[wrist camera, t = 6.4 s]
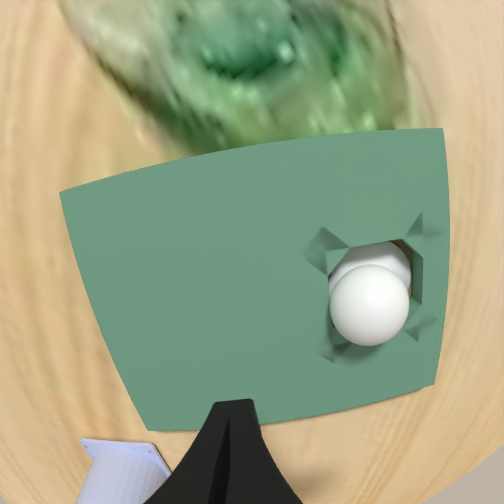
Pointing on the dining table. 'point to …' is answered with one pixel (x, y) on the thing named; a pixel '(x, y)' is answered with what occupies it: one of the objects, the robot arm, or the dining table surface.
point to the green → (264, 272)
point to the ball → (369, 305)
